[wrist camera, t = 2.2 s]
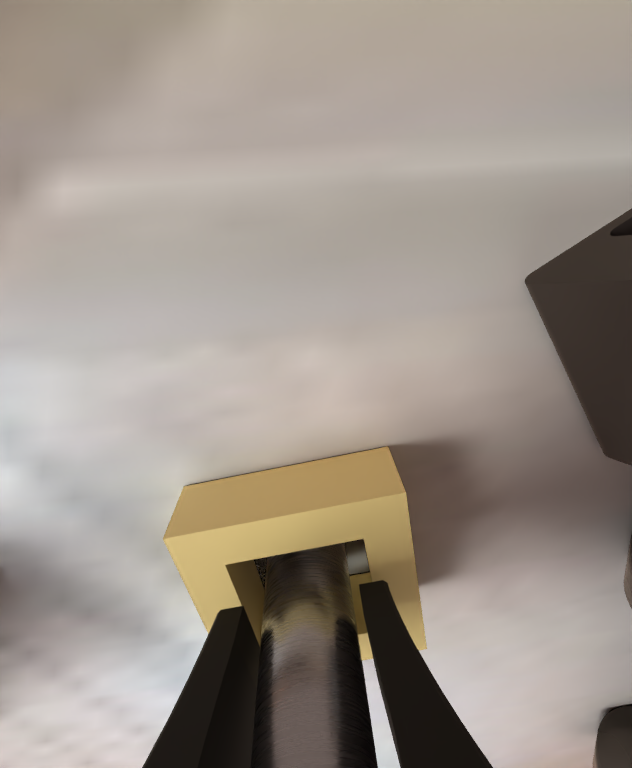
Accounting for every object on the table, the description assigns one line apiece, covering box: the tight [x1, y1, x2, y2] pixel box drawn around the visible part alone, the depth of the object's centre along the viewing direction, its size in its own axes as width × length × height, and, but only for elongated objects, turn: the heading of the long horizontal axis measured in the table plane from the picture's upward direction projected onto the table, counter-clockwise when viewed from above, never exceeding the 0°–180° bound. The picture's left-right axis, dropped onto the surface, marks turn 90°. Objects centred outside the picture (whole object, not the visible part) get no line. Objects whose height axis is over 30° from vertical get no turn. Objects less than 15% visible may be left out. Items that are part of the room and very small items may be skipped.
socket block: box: [163, 447, 427, 660], centre depth 12 cm, size 6×6×2 cm
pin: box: [251, 543, 378, 768], centre depth 9 cm, size 3×3×8 cm
